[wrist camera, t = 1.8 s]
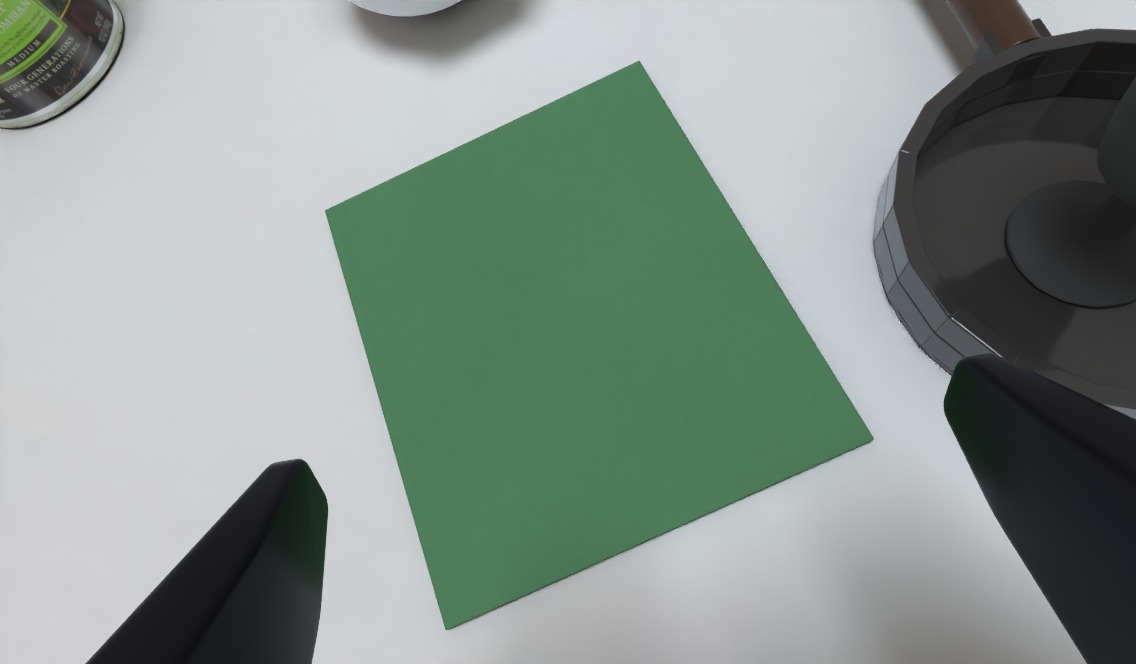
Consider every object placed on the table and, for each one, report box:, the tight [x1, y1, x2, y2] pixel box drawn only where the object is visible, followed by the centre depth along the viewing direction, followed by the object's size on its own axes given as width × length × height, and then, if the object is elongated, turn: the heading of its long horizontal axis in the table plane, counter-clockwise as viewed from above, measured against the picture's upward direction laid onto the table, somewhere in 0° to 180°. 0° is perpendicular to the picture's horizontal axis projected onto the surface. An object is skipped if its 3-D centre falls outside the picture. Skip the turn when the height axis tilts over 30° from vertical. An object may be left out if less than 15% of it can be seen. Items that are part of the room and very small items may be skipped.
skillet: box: [874, 29, 1136, 419], centre depth 21 cm, size 14×14×3 cm
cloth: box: [325, 61, 874, 630], centre depth 26 cm, size 19×16×1 cm
